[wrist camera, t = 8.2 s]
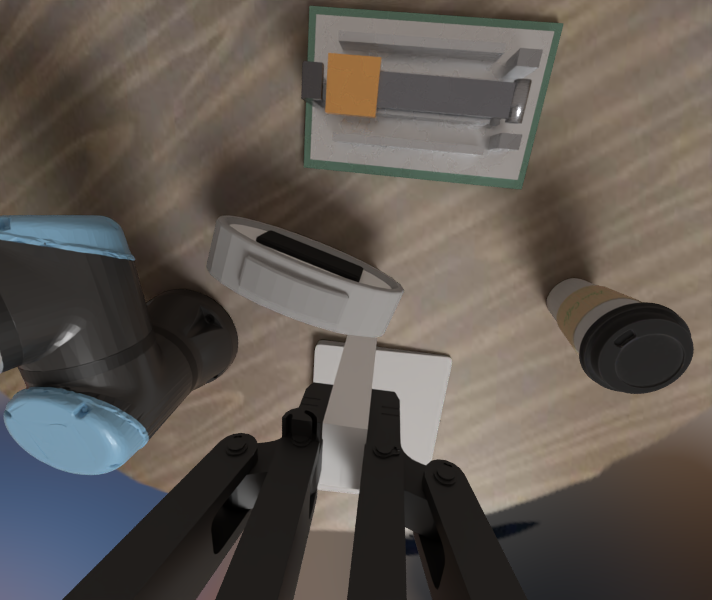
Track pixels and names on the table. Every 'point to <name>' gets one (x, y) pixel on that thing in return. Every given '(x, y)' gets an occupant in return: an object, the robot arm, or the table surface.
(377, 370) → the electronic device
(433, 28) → the heatsink
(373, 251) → the table surface
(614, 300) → the coffee cup
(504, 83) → the orange tipped grey lever
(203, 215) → the table surface
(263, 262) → the alarm clock
